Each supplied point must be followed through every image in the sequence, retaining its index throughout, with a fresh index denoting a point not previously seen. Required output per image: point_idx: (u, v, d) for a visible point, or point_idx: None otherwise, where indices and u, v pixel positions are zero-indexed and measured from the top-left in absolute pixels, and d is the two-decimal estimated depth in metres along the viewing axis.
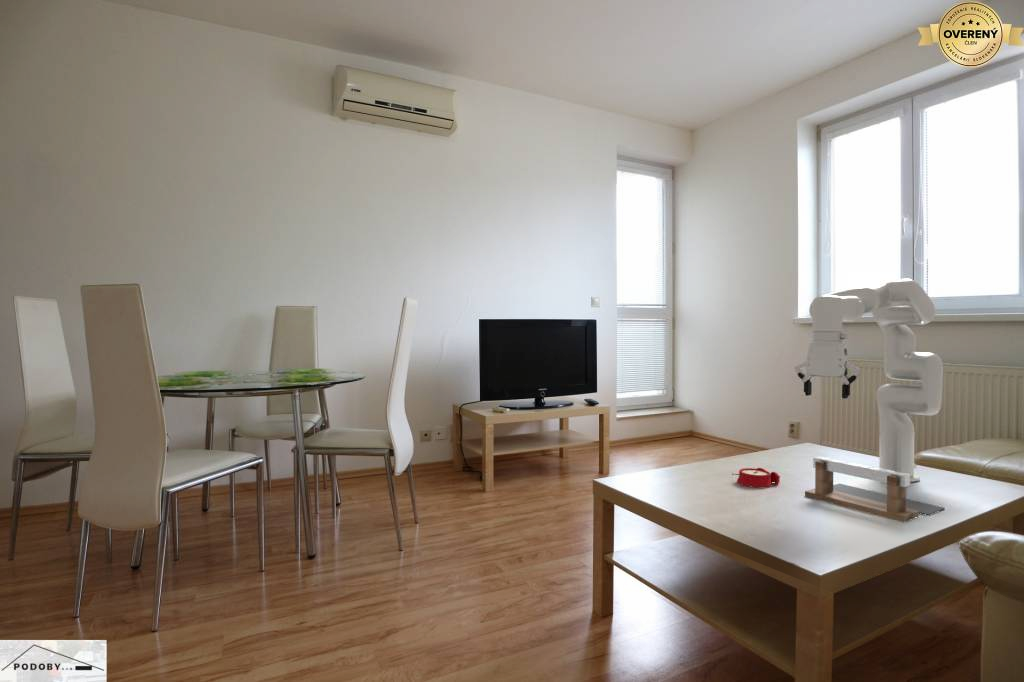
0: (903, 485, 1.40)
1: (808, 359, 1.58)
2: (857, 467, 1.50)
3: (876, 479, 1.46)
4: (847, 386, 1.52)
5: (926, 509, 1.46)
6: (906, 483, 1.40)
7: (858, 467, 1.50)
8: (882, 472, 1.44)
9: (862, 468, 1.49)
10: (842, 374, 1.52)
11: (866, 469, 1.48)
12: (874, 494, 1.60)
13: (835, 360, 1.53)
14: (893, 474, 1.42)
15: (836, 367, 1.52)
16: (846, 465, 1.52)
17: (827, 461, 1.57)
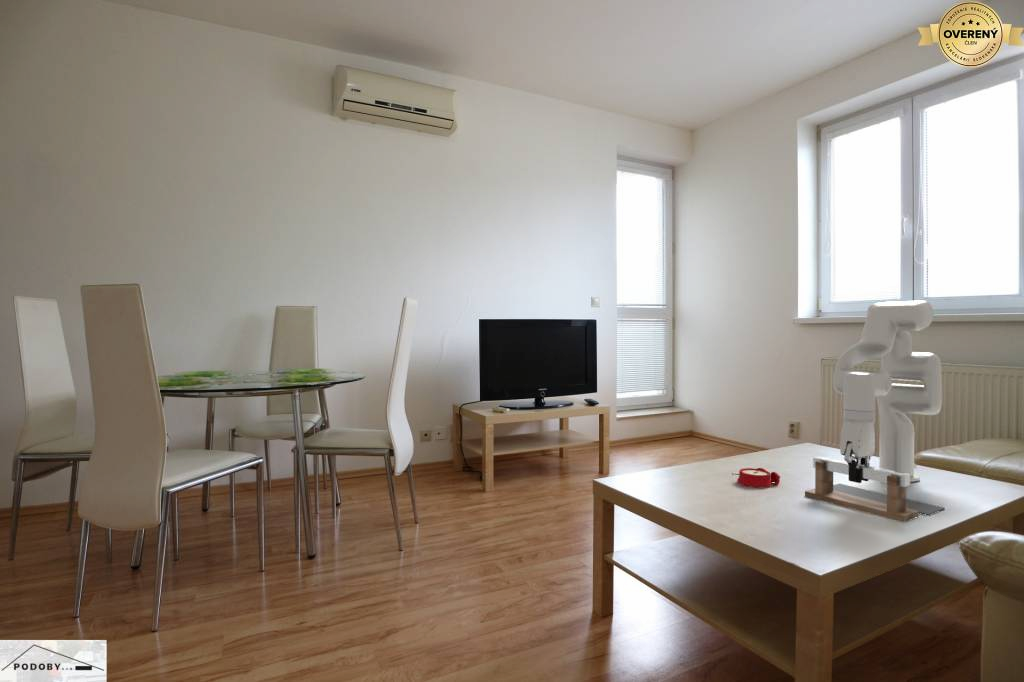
0: (903, 485, 1.40)
1: (858, 441, 1.47)
2: None
3: (876, 479, 1.46)
4: None
5: (926, 509, 1.46)
6: (906, 483, 1.40)
7: None
8: (882, 472, 1.44)
9: (862, 468, 1.49)
10: None
11: (866, 469, 1.48)
12: (874, 494, 1.60)
13: (873, 438, 1.50)
14: (893, 474, 1.42)
15: (873, 445, 1.50)
16: (846, 465, 1.52)
17: (827, 461, 1.57)
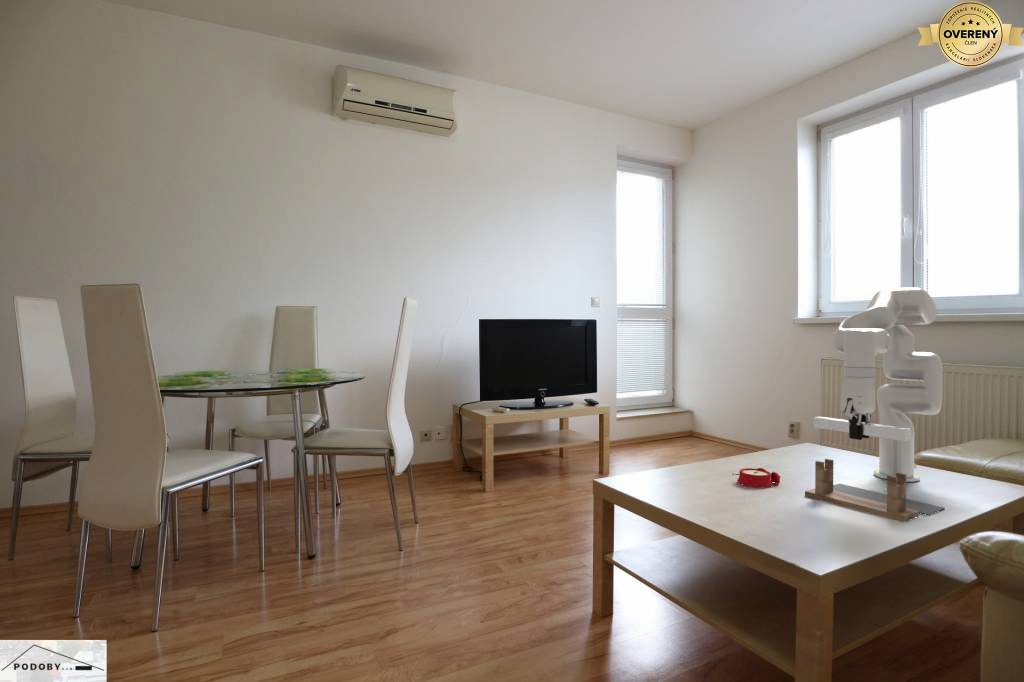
0: (904, 439, 1.40)
1: (859, 397, 1.47)
2: None
3: (877, 435, 1.46)
4: None
5: (926, 509, 1.46)
6: (907, 437, 1.40)
7: None
8: (883, 428, 1.44)
9: (863, 425, 1.49)
10: None
11: (867, 426, 1.48)
12: (874, 494, 1.60)
13: (873, 395, 1.50)
14: (894, 429, 1.42)
15: (873, 402, 1.50)
16: (847, 423, 1.52)
17: (828, 420, 1.57)
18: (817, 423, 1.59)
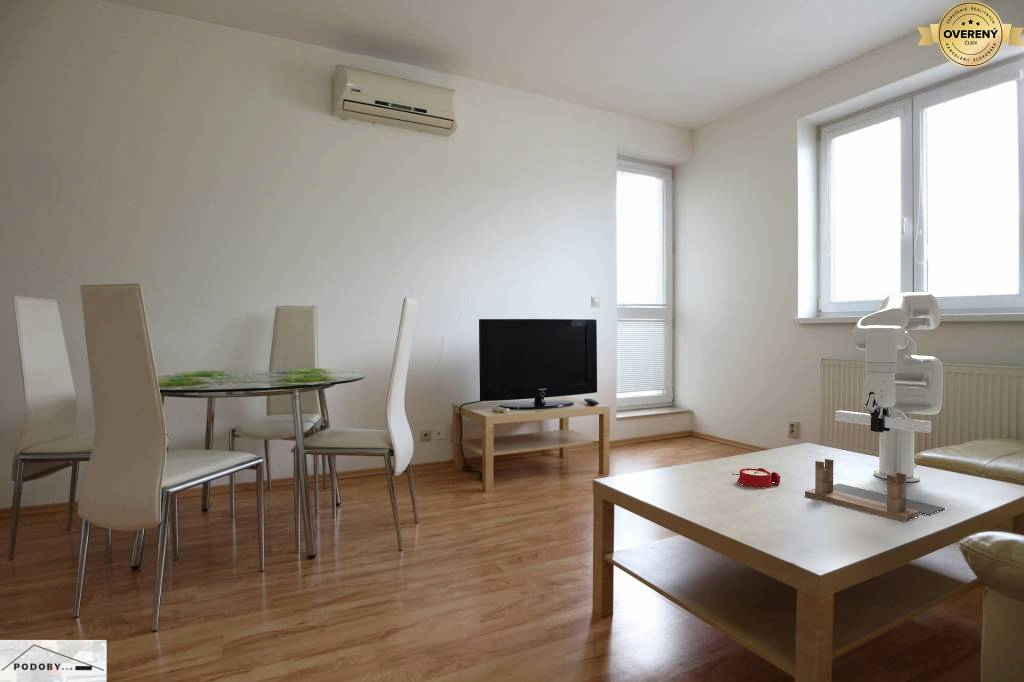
0: (925, 431, 1.46)
1: (881, 391, 1.53)
2: None
3: (898, 427, 1.52)
4: None
5: (926, 509, 1.46)
6: (928, 429, 1.46)
7: None
8: (904, 420, 1.50)
9: (884, 418, 1.55)
10: None
11: (888, 418, 1.54)
12: (874, 494, 1.60)
13: (894, 390, 1.56)
14: (915, 421, 1.48)
15: (894, 397, 1.56)
16: (868, 416, 1.58)
17: (849, 413, 1.63)
18: (838, 417, 1.65)
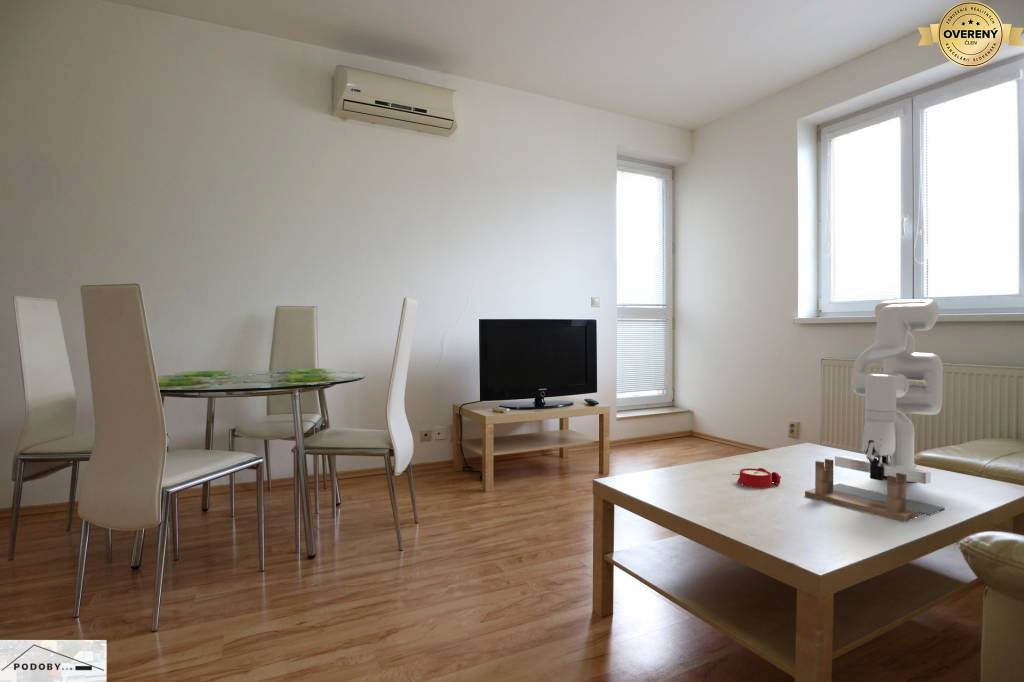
0: (924, 482, 1.46)
1: (880, 440, 1.53)
2: None
3: None
4: None
5: (926, 509, 1.46)
6: (927, 480, 1.46)
7: None
8: (903, 470, 1.50)
9: (883, 466, 1.55)
10: None
11: (887, 467, 1.54)
12: (874, 494, 1.60)
13: (893, 438, 1.56)
14: (914, 472, 1.48)
15: (893, 444, 1.57)
16: (868, 463, 1.58)
17: (849, 459, 1.63)
18: (838, 462, 1.65)
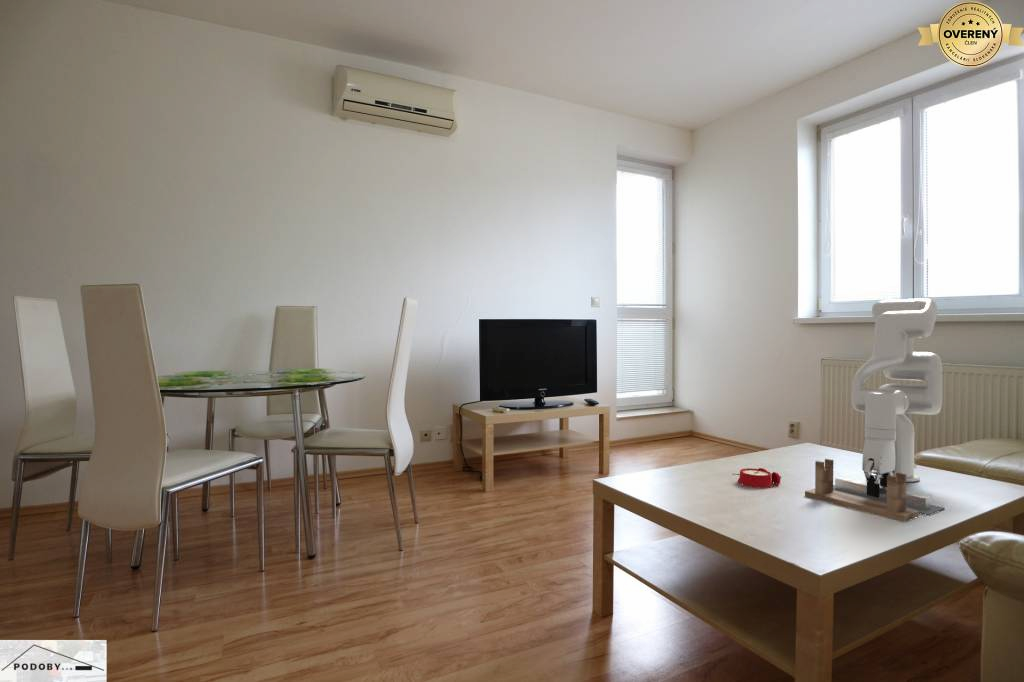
0: (924, 508, 1.46)
1: (880, 458, 1.53)
2: None
3: None
4: None
5: (926, 509, 1.46)
6: (927, 505, 1.47)
7: (880, 489, 1.56)
8: None
9: (883, 490, 1.55)
10: None
11: None
12: None
13: (893, 455, 1.57)
14: (914, 497, 1.48)
15: (893, 462, 1.57)
16: None
17: (849, 482, 1.63)
18: (838, 484, 1.66)
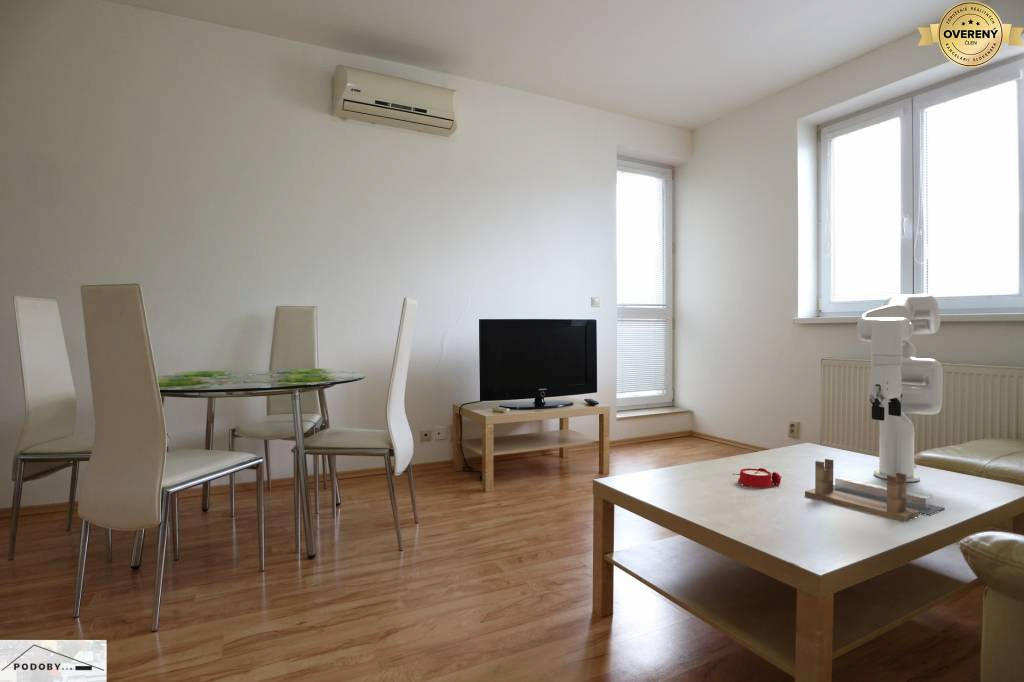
0: (924, 508, 1.46)
1: (887, 383, 1.55)
2: (879, 489, 1.56)
3: None
4: None
5: (926, 509, 1.46)
6: (927, 505, 1.47)
7: (880, 489, 1.56)
8: None
9: (883, 490, 1.55)
10: None
11: None
12: None
13: (900, 381, 1.58)
14: (914, 497, 1.48)
15: (900, 388, 1.59)
16: (868, 487, 1.59)
17: (849, 482, 1.63)
18: (838, 484, 1.66)
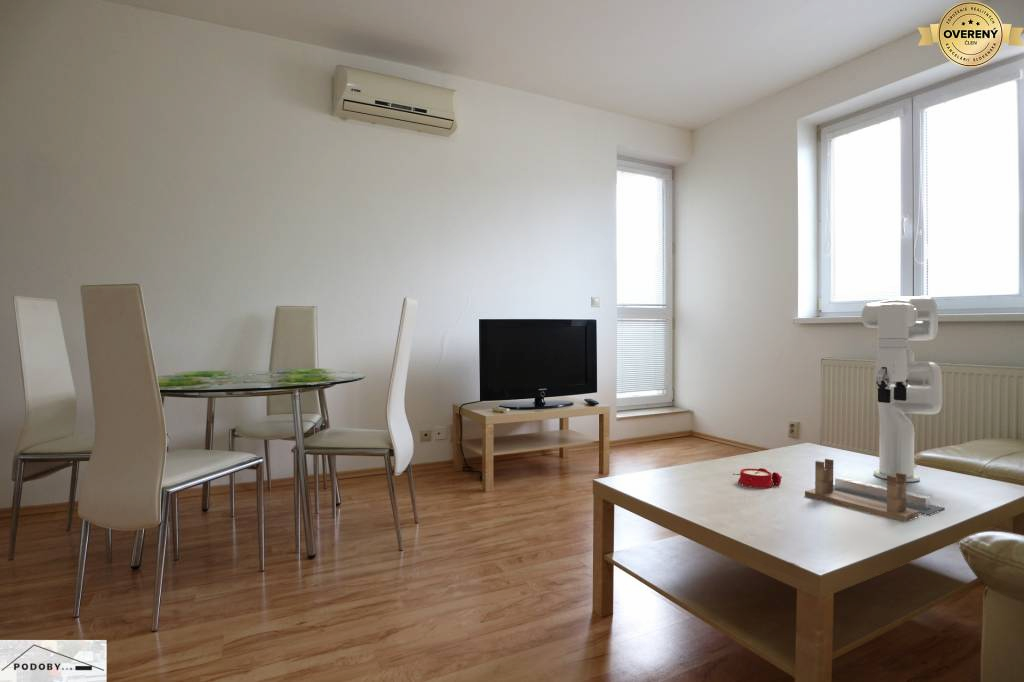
0: (924, 508, 1.46)
1: (893, 366, 1.56)
2: (879, 489, 1.56)
3: None
4: None
5: (926, 509, 1.46)
6: (927, 505, 1.47)
7: (880, 489, 1.56)
8: None
9: (883, 490, 1.55)
10: None
11: None
12: None
13: (905, 365, 1.60)
14: (914, 497, 1.48)
15: (905, 372, 1.60)
16: (868, 487, 1.59)
17: (849, 482, 1.63)
18: (838, 484, 1.66)
